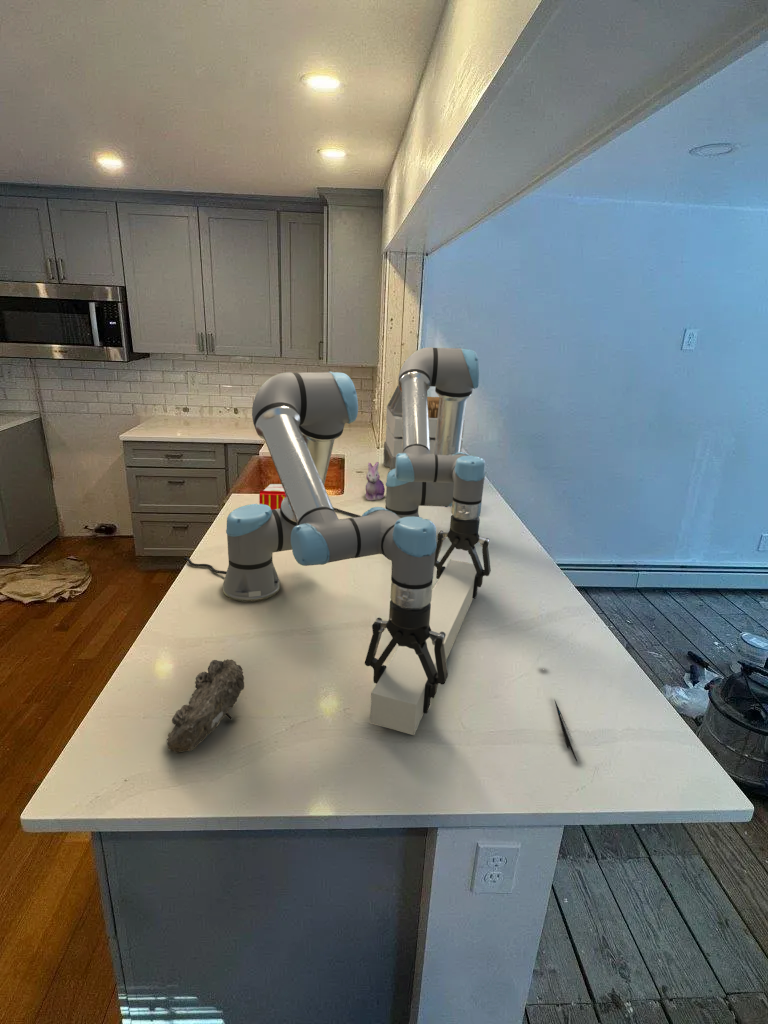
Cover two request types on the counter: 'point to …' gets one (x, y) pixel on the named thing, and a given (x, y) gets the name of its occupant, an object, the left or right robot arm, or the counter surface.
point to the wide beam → (404, 676)
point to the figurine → (374, 483)
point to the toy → (272, 496)
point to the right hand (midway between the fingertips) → (457, 592)
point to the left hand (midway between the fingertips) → (403, 702)
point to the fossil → (206, 705)
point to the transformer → (395, 427)
